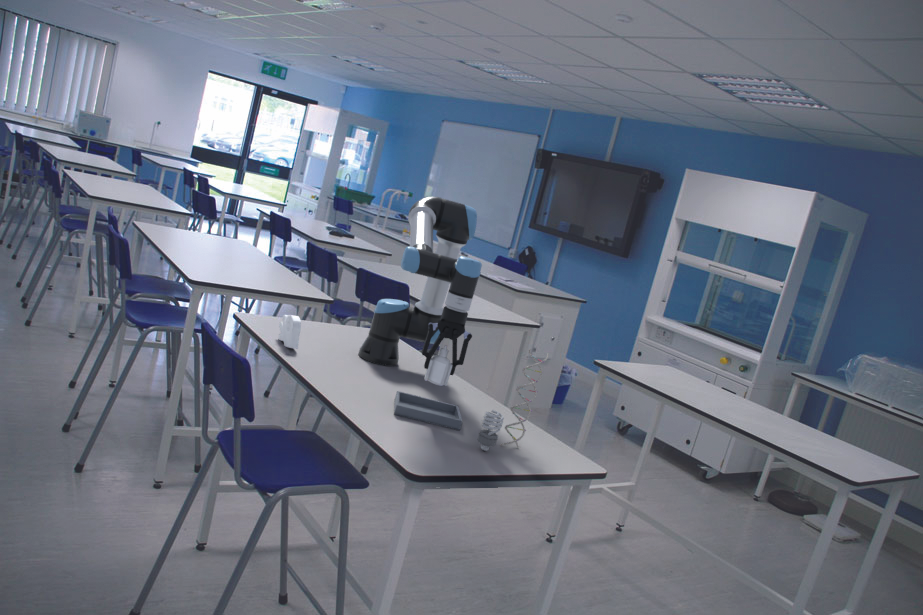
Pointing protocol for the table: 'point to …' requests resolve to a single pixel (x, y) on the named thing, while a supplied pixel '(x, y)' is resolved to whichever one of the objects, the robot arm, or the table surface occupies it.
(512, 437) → the dna model
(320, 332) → the table surface
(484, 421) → the light bulb
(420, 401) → the tray
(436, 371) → the eye dropper bottle
